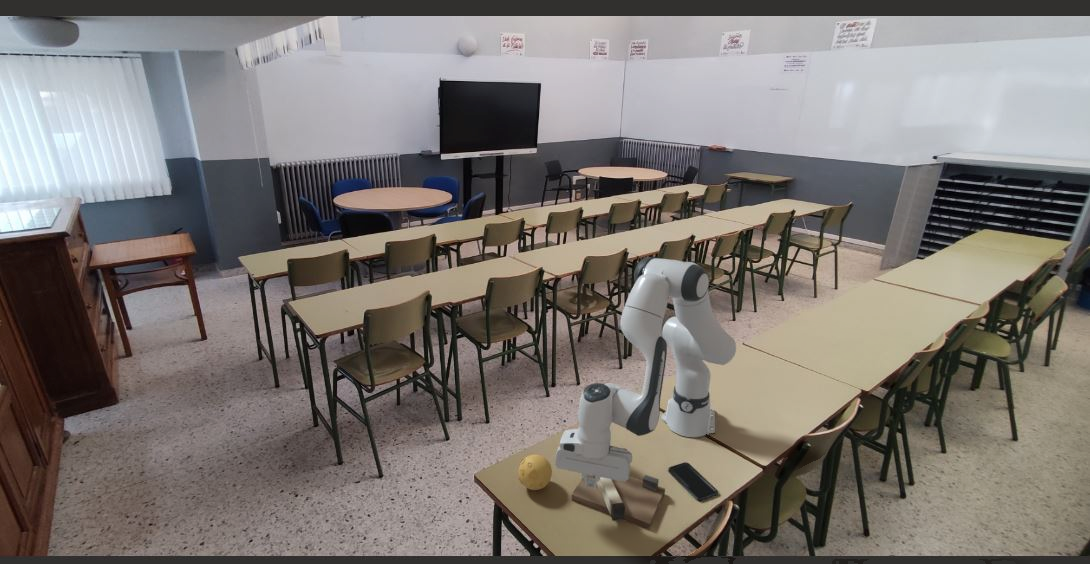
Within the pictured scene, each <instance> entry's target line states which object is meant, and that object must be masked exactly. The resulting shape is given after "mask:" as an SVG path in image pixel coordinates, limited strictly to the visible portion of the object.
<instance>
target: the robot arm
mask: <svg viewBox="0 0 1090 564" xmlns="http://www.w3.org/2000/svg"><path fill="white" fill-rule="evenodd" d="M633 278H634V284H633V285H632V286H633V287H632V288H631V289H630V292H629V294H628V296H627V299H626V302H625V304H624V308H623V310H622V312H621V316H620V323H619V325H620V329H621V332H622V334H623V335H624V336H625V338H626V340H627V341H628V342H629V343H631V344H632V345H633V346H634V347H636V349H637V350H639V351H640V353H641V354H642V356H644V359H645V363H646V365H645V373H644V377H643V378H644V379H643V386H642V391H641V393H640V394H639V393H637V392H634V391H632V390H629V389H627V388H625V387H623V386H620V385H618V384H615V383H612V382H609V381H608V382H605V383H600V382H597V383H596V382H594V383H591V384H588V385H587V386H585V387H584V388H583V389H582V391H581V395H580V399H579V404H578V411H577V412H578V413H577V415H578V419H577V422H578V421H579V427H578V426H577V427H578V428H573V429H566V430H564V431H563V434H562V435H561V438H560V441H559V445H558V447H557V450H556V453H555V458H554V465H555V467H556V468H557V469H559V470H565V471H570V472H574V473H580V474H581V477H582V478H583V479H584V480H585V486H589V487H594V488H596V485H597V482H598V481H599V480H600V478H601V477H603V478H608V479H613V480H618V481H623V482H626V481H627V480H628V479H629V476H630V475H631V474H630V472H631V463H632V462H633V454H632V452H631V451H630V450H628V448H625V447H618V446H616V445H615V446H614V445H611V438H612V431H611V425H612V423H613V424H616V425H617V426H620V427H622V428H623V429H624V428H625V429H626V430H627V431H629V432H631V433H633V434H635V435H636V436H638V437H640V436H641V437H642V436H645V435H648V434H650V433H653V431H655V430H656V428H657V426H658V423H659V419H660V420H661V421H662V422H664V421H665V422H666V423H667V424H666V423H665V422H664V423H665V424H666V425H667V428H669V430H671V431H672V432H673V433H675V434H677V435H679V436H683V437H686V438H687V437H688V438H700V437H703V436H707V435H709V434H708V433H714V432H715V433H716V411H715V410H716V409H715V410H712V409H714V407H712V408H711V409H710V407H711V399H710V397H711V396H710V383H711V379H712V378H711V371H710V368H709V367H708V365H707V364H706V363H710V364H714V365H721V366H724V365H727V364H728V363H730V362H731V361H732V360H733V359H734V357H735V355H736V351H737V344H736V340H735V339H734V337H732V336H731V335H730V334H729V333H728V332H727V331H726V330H725V329H724V328H723V326H722V325H721V324H720V322H719V321H718V319H717V318H716V316H715V313H714V312H713V310H712V305H711V300H710V294H709V285H710V276H709V273H708V272H707V271H706V269H705V268H704V267H702V266H701V265H698V264H697V263H695V262H692V261H682V260H678V259H677V260H676V259H668V258H658V257H656V256H655V257H654V256H648V257H647V256H646V257H644V258H642V259H641V260H640V261H639V262H638V263H637V264H636V266H635V269H634V274H633ZM669 298H670V299H672V303H673V308H674V314H675V316H672V317H670V318H668V319H667V320H666V321H665V323H664V325H663V321H664V318H665V314H666V311H667V307H668V302H669ZM668 347H669V349H670V351H671V353H672V355H673V358H674V362H675V368H676V375H675V376H676V377H675V386H674V387H673V391H672V396H671V398H669V399H668V402H667V406H666V407H667V408H666V411H664V413H662V414H661V413H660V410H661V396H662V389H663V384H664V376H665V370H666V362H667V355H668V354H667V353H668ZM705 362H706V363H705ZM714 411H715V412H714ZM660 414H661V416H660ZM711 415H713V416H711ZM711 428H713V429H711ZM706 434H707V435H706ZM588 475H593V476H595V479H594V478H590V477H589V476H588Z"/></svg>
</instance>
